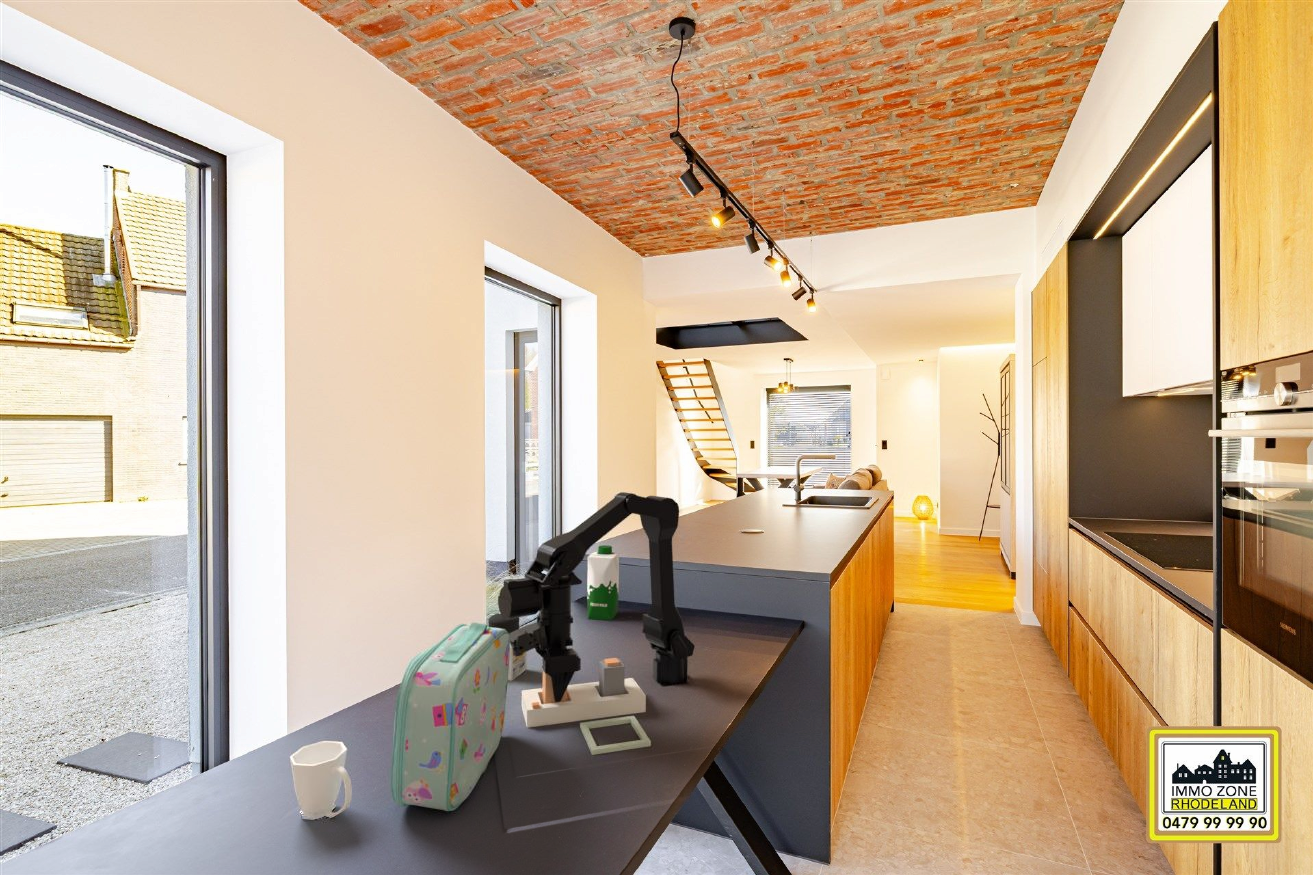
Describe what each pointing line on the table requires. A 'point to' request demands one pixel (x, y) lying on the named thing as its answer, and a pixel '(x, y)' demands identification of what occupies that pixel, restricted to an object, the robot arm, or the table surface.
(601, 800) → the table surface
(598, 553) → the milk carton
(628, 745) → the tray
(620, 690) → the twin plug
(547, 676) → the plug
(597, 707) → the outlet strip
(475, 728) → the lunch box
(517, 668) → the container
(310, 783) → the cup
